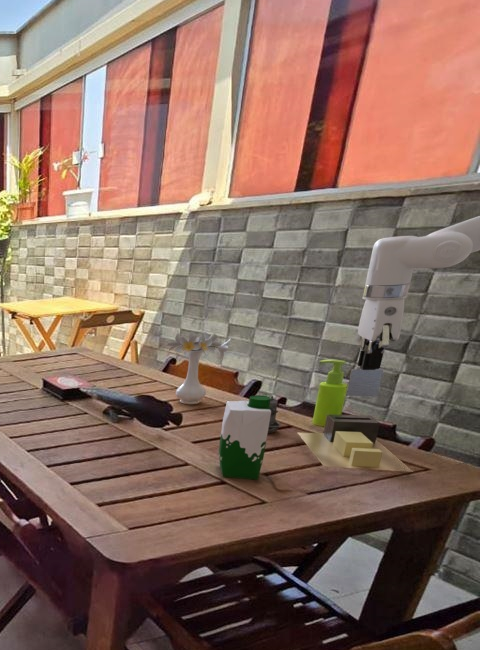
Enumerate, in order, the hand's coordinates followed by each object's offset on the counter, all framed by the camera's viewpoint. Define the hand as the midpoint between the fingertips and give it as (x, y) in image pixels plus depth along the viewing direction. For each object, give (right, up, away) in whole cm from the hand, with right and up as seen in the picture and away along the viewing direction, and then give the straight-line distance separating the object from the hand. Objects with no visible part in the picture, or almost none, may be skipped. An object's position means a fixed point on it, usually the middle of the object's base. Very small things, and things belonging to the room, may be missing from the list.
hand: (368, 366), depth 122 cm
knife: (+1, -7, +3) cm, 8 cm away
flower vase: (-10, -5, +55) cm, 56 cm away
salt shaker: (-9, -17, +21) cm, 29 cm away
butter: (-2, -21, +3) cm, 22 cm away
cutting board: (-1, -22, +4) cm, 23 cm away
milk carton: (-32, -27, +2) cm, 42 cm away
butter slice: (-5, -24, -4) cm, 25 cm away
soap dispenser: (+8, -15, +22) cm, 28 cm away
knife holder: (+4, -18, +10) cm, 21 cm away
